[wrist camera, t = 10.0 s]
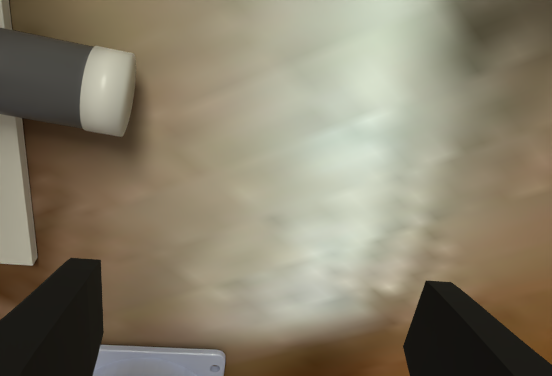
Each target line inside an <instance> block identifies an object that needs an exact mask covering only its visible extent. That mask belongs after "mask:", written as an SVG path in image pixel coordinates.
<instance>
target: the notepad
mask: <svg viewBox="0 0 552 376" xmlns="http://www.w3.org/2000/svg"><path fill="white" fill-rule="evenodd" d="M0 28H4V29H9V30H12V24H11V15H10V6H9V0H0ZM37 258H38V256H37V247H36V238H35V229H34V220H33V212H32V203H31V194H30V185H29V176H28V167H27V158H26V149H25V140H24V131H23V122H22V118H19V117H14V116H8V115H2V114H0V264H15V265H32V266H33V264H34V263H35V261H36V259H37Z"/></svg>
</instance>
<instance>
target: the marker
mask: <svg viewBox="0 0 552 376" xmlns="http://www.w3.org/2000/svg"><path fill="white" fill-rule="evenodd" d="M135 82H136V58H135V54H134V53H130V52H125V51H120V50H115V49H110V48H105V47H100V46H94V47H93V46H88V45H83V44H78V43H73V42H68V41H63V40H58V39H54V38H49V37H44V36H39V35H34V34H29V33H24V32H19V31H14V30H9V29H4V28H0V114H2V115H8V116H14V117H19V118H25V119H31V120H36V121H42V122H48V123H53V124H59V125H65V126H70V127H76V128H82V129H84V130H85V131H90V132H96V133H102V134H108V135H113V136H119V137H122V136H123V135H124V133H125V131H126V129H127V126H128V122H129V119H130V114H131V110H132V104H133V98H134V91H135Z"/></svg>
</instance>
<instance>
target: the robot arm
mask: <svg viewBox="0 0 552 376" xmlns="http://www.w3.org/2000/svg"><path fill="white" fill-rule="evenodd" d="M102 337H103V308H102V282H101V260H94V259H78V258H70V259H69V260H67V261H66V262H65V263H64V264H63V265H62V266H60V267H59V268H58V269H57V270H56V271H55V272H54V273H53V274H52V275H51V276H50V277H49V278H47V279H46V280H45V281H44V282H43V283H42V284H41V285H40V286H39V287H38V288H37V289H35V290H34V291H33V292H32V293H31V294H30V295H29V296H28V297H27V298H25V299H24V300H23V301H22V302H21V303H20V304H19V305H17V306H16V307H15V308H14V309H13V310H12V311H11V312H9V313H8V314H7V315H6V316H5V317H4V318H2V319H1V320H0V376H224V369H225V354H224V352H222V351H220V350H212V349H189V348H165V347H142V346H118V345H101V341H102ZM403 348H404V352H405V356H406V361H407V365H408V369H409V373H410V376H552V365H551V364H550V363H549V362H548V361H546V360H545V359H544V358H543V357H541V356H540V355H539V354H538V353H536V352H535V351H534V350H533V349H531V348H530V347H529V346H528V345H527V344H525V343H524V342H523V341H522V340H520V339H519V338H518V337H517V336H516V335H514V334H513V333H512V332H511V331H510V330H509V329H507V328H506V327H505V326H504V325H503V324H501V323H500V322H499V321H498V320H497V319H496V318H494V317H493V316H492V315H491V314H490V313H488V312H487V311H486V310H485V309H484V308H483V307H481V306H480V305H479V304H478V303H477V302H475V301H474V300H473V299H472V298H471V297H469V296H468V295H467V294H466V293H465V292H463V291H462V290H461V289H460V288H458V287H457V286H456V285H454V284H453V283H451V282H439V281H426V282H425V285H424V288H423V291H422V294H421V296H420V299H419V302H418V305H417V308H416V311H415V314H414V317H413V320H412V322H411V325H410V328H409V331H408V334H407V337H406V340H405V343H404V345H403ZM213 365H217V366H213Z"/></svg>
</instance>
